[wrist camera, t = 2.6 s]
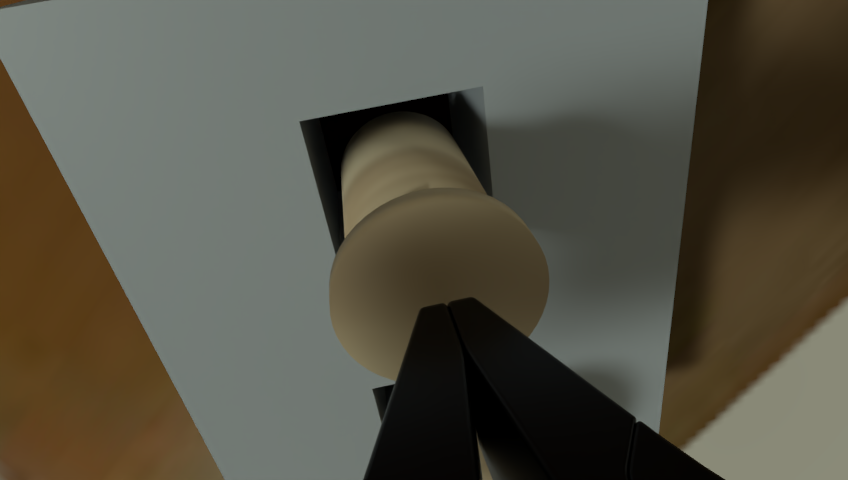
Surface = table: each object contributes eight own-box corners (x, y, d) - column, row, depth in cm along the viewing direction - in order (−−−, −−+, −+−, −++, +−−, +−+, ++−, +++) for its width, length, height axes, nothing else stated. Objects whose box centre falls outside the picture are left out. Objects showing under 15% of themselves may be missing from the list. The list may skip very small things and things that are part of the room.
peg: (479, 219, 15) (551, 359, 10) (345, 246, 14) (356, 403, 10) (464, 85, 13) (545, 180, 8) (312, 114, 13) (303, 229, 8)
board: (595, 374, 24) (654, 471, 20) (279, 445, 23) (269, 562, 19) (607, -105, 15) (721, -116, 11) (82, -14, 14) (-25, 13, 10)
